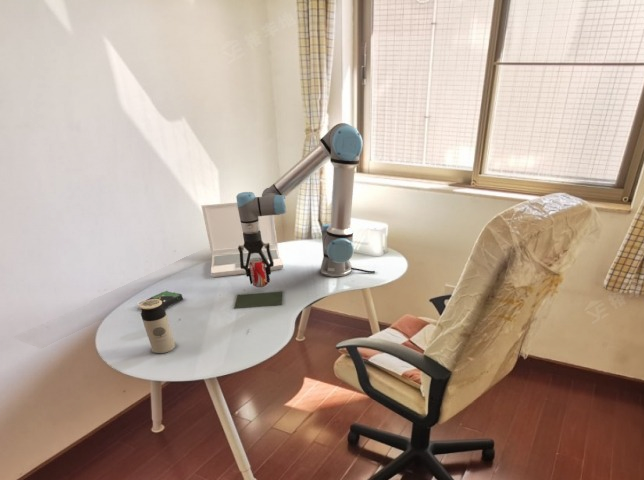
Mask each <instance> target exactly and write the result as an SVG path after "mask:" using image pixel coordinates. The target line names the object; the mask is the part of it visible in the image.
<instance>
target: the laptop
mask: <svg viewBox="0 0 644 480" xmlns="http://www.w3.org/2000/svg"><path fill="white" fill-rule="evenodd" d="M201 210H202V214H203V220H204V225H205V230H206V233H207V238H208V244H209V248H210V249H209V250H210V253H211V267H210V268H211V269H210V275H211V277H213V278H221V277H231V276H239V275H246V271H245V269H241V266H240V252H239V250H238V246H239V245H244V238H243V231H242V227H241V221H240V216H239V211H238V206H237V201H235V202H227V203H226V202H224V203H215V204H214V203H213V204H203V205H201ZM258 220H259V226H260V230H259V231H260V232H261V238H262V242H263V243H266V244H267V243H269V244H270V252H271V255H272V259H273V262H274V266H272V267H270V269H271V272H273V271H281V270H283V269H284V262H283V261H282V257H281V254H280V251H279V246H278V245H279V244H278V238H277V237H278V236H277V229H276V222H275V215H268V216H258ZM261 250H262V251H263V254H264V255H265V257H266V259H267V260H268V262H269V264H270V261H269V257H268V254H267V249H265V247H264V246H263V247H262V249H261ZM247 256H248V251H247V250H246V249H245V248H244V250H243V259H244V265H245V266H246V261H247ZM252 258H261V256H260V255H259V253H253V254H251V256H250V259H252ZM249 263H250V261H249ZM265 266H266V265H265ZM266 267H267V266H266ZM248 268H250V267H249V266H248Z"/></svg>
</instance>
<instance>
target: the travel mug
mask: <svg viewBox="0 0 644 480" xmlns="http://www.w3.org/2000/svg"><path fill="white" fill-rule="evenodd" d="M145 300H146V301H145ZM145 300H143V301H141V302H142V303H141V302H139V303H140V304H138V307H139V309H140V310H141V312H140V316H141V320H142V322H143V325H144V329H145V332H146V335H147V339H148V341H149V344H150V347H151V350H152V352H153V353H155V354H166V353H168V352H171V351H173V350H174V349H175V347H176V343H175V340H174V336H173V333H172V329H171V326H170V323H169V319H168V315H167V312H166V308H165V309H164V308H163V307H162V301H161V300H159V299H150V300H147V299H145Z"/></svg>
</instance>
